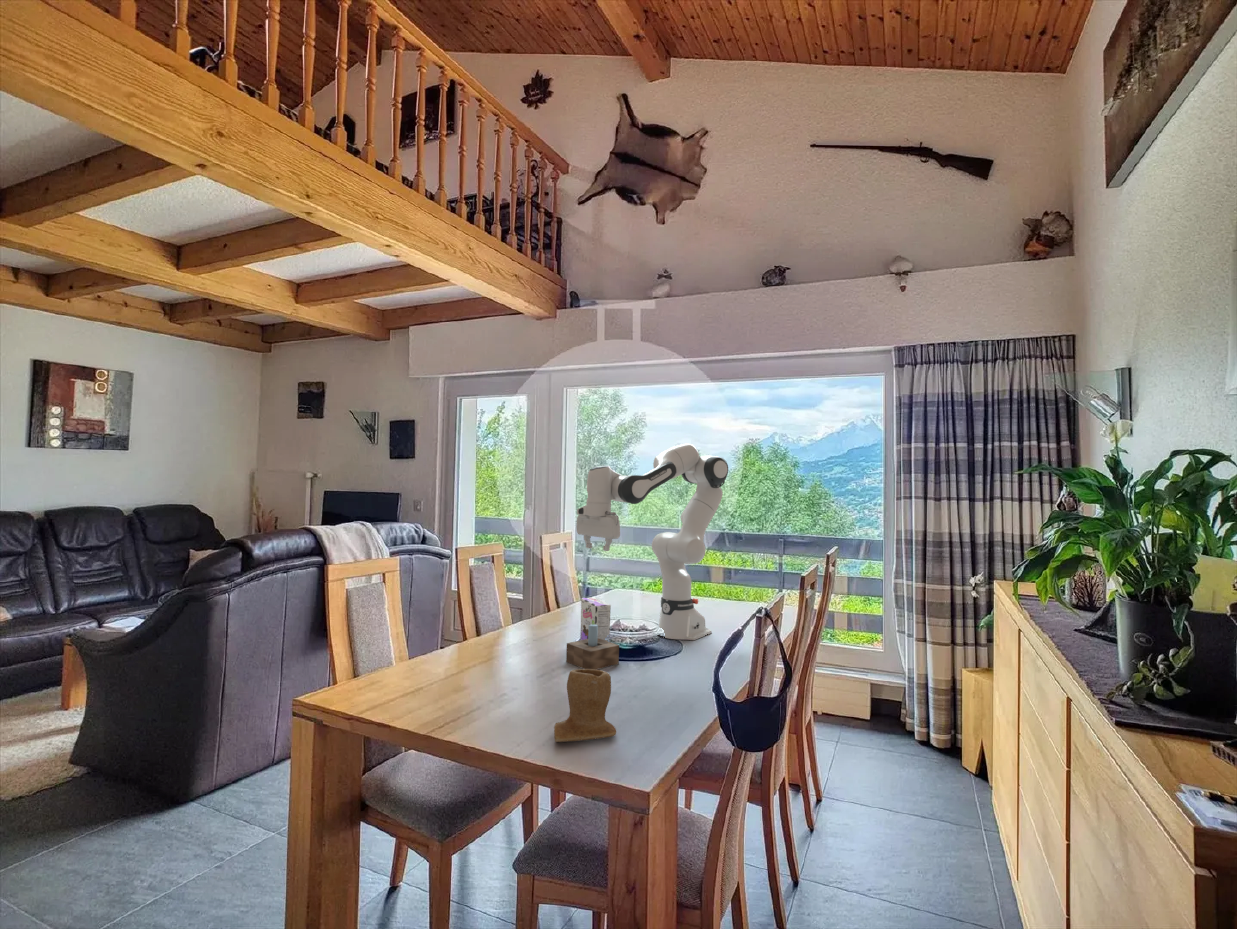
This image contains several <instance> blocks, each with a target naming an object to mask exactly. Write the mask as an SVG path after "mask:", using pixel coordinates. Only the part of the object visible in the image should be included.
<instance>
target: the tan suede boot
mask: <svg viewBox="0 0 1237 929" xmlns="http://www.w3.org/2000/svg"><path fill="white" fill-rule="evenodd" d="M566 692H567V699H568V705H569V706H568V707H569V716H568V717H567V719H565V720H563V721H560V722H556V723H555V724H554V727H553V729H554V730H553V732H554V734H553V736H554V737H553V738H554V742H555V743H564V742H565V743H566V742H580V741H581V742H582V741H589V740H599V739H604V738H605V739H606V738H611V737H614V736H616V735H617V729H616V727H615V726H614V725H613V724H612V723H610V721H608V720H606V713H607V712H606V711H607V708H608V705H609V701H610V698H611V693H612V680H611V675H610V673H608V672H607V671H604V670H601V669H584V668H578V669H573V670H570V671H569V674H568V676H567V682H566Z"/></svg>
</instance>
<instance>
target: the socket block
mask: <svg viewBox="0 0 1237 929" xmlns="http://www.w3.org/2000/svg"><path fill="white" fill-rule="evenodd" d="M619 656H620V645H619V644H617V643H613V642H611V641H609V642H608V641H605V640H602V639H597V646H594V647H591V646H588V639H585V640H577V641H571V642H570V641H569V642H567V643H566V657H565V662H566V663H567V664H571V665H573V666H576V667H578V668H580V669H596V670H601V669H603V668H607V667H608V668H609V667H611V665H612V666H615V665H619V660H620V659H619V658H620V657H619Z"/></svg>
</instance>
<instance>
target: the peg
mask: <svg viewBox="0 0 1237 929" xmlns="http://www.w3.org/2000/svg"><path fill="white" fill-rule="evenodd" d="M597 639H598V625H589V629H588V646H591V647H594V646H597Z"/></svg>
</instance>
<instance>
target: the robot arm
mask: <svg viewBox="0 0 1237 929" xmlns="http://www.w3.org/2000/svg"><path fill="white" fill-rule="evenodd" d="M699 454H700V453H699V451H698V449H697V448H696V446H695V445H693V444H691V443H683V444H679V445H675V446H672V447H670V448H668V449H666V450H663V451H662V452H660V453H659V454H657V455H656V456H655V457H654V460H653V463H652V464H653V469H651V470H650V471H648V472H646V473H644V474H642V475H640V474H637V475H636V474H634V475H633V474H632V475H623V474H621V473H618V472H616V471H615V470H614V469H612V468H611V466H610V465H604V464H603V465H596V466H592V467H591V468H590V469H589V471H588V474H587V479H586V491H587V492H586V493H587V498H586V502H585V503H586V505H583V506H581V507H579V508H577V509H576V514H577V515H578V516H577V517H576V532H577V535H581V536H583V540H584V541H585V548H586V549H592V548H593V542H591V537H595V538H602V539H604V541H605V544H604V545H602V550H603V552H609V551H610V549H611V548H610V547H611V545H612V542H613V540H617V539H620V536H621V526H620V520H619V515H618V514H617V512H615V511H612V501H614V502H620V503H627V504H631V505H636V504H639V503H641V502H643V501H644V500H645V499H646V498H647V496H648V495H649V494H650V493H651V492H652V491H653V490H655V489H656V488H658V487H660V486H661V485H664V484H665V483H667V482H669V481H670V480H673V479H675V478H677V477H679V476H681V477H682V478H683V480H684V481H685V482H686V483H689V484H696V490H695V492H694V494H693V495H692V497H691V499H689V501H688V503H687V504H686V506H685V508H684V510H683V511H682V513H681V515H680V521H681V523H682V525H681V529H680V530H679V531H678V532H671V531H666V532H664V531H663V532H660V533H658V534H656V535H655V536H654V538H652V540H651V541H652V542H651V549H652V552H653V554H654V555H655V556H656V559H657V560H658V563H659V564H658V565H659V567H660V572H661V578H662V579H661V580H662V587H661V588H662V589H661V590H662V592H661V593H662V594H661V598H660V608H661V609H660V612H659V619H658V627H660V628H662V629H663V630H664V633H665V639H670V640H688V641H689V640H690V641H695V640H698V639H701V638H702V637H706V636H708V635H710V634H712V630H711V629H710V628H707V627H706V626H707V625H706V619H705V617H704V616H703V614H701V613H700V612H699V611H698V610H697V609H696V608H695V606H694V604H695V605H698V604H699V602H700V601H699V599H698V598H694V597H693V598H692V577H691V575H690V574H689V572H688V571H687V568H686V565H692V564H693V565H694V564H698V563H701V561H703V559H704V558H705V556H706V545H705V542H704V538H705V533H706V530H707V528H708V527H709V525H710V522H711V521H712V519H713V518H714V516H715V515H716V513H717V510H718V508H719V506H720V504H721V501H722V498H723V495H724V494H723V490H722V488H721V487H723V485H724V484H725V481H726V480H727V477H728V475H729V474H728V473H729V465H728V462H727V461H726V460H725V459H724V457H720V456H717V455H702V456H701V455H699ZM707 634H708V635H707ZM705 635H706V636H705Z"/></svg>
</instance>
